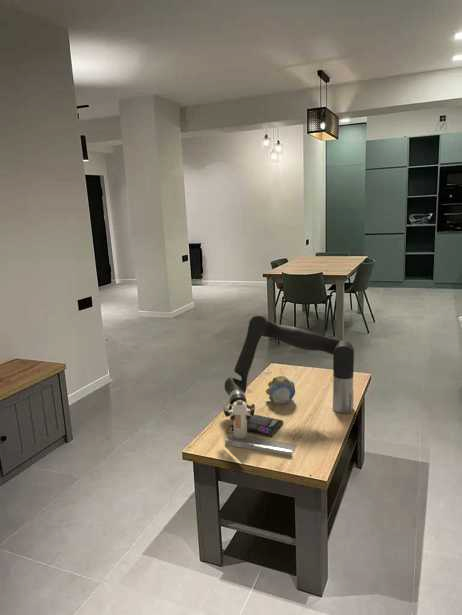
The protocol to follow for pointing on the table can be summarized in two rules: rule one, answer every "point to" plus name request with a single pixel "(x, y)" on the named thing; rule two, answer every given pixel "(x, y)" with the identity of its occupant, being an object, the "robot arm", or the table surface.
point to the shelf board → (266, 443)
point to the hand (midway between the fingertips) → (240, 418)
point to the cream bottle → (240, 419)
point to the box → (262, 425)
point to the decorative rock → (281, 390)
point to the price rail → (258, 447)
